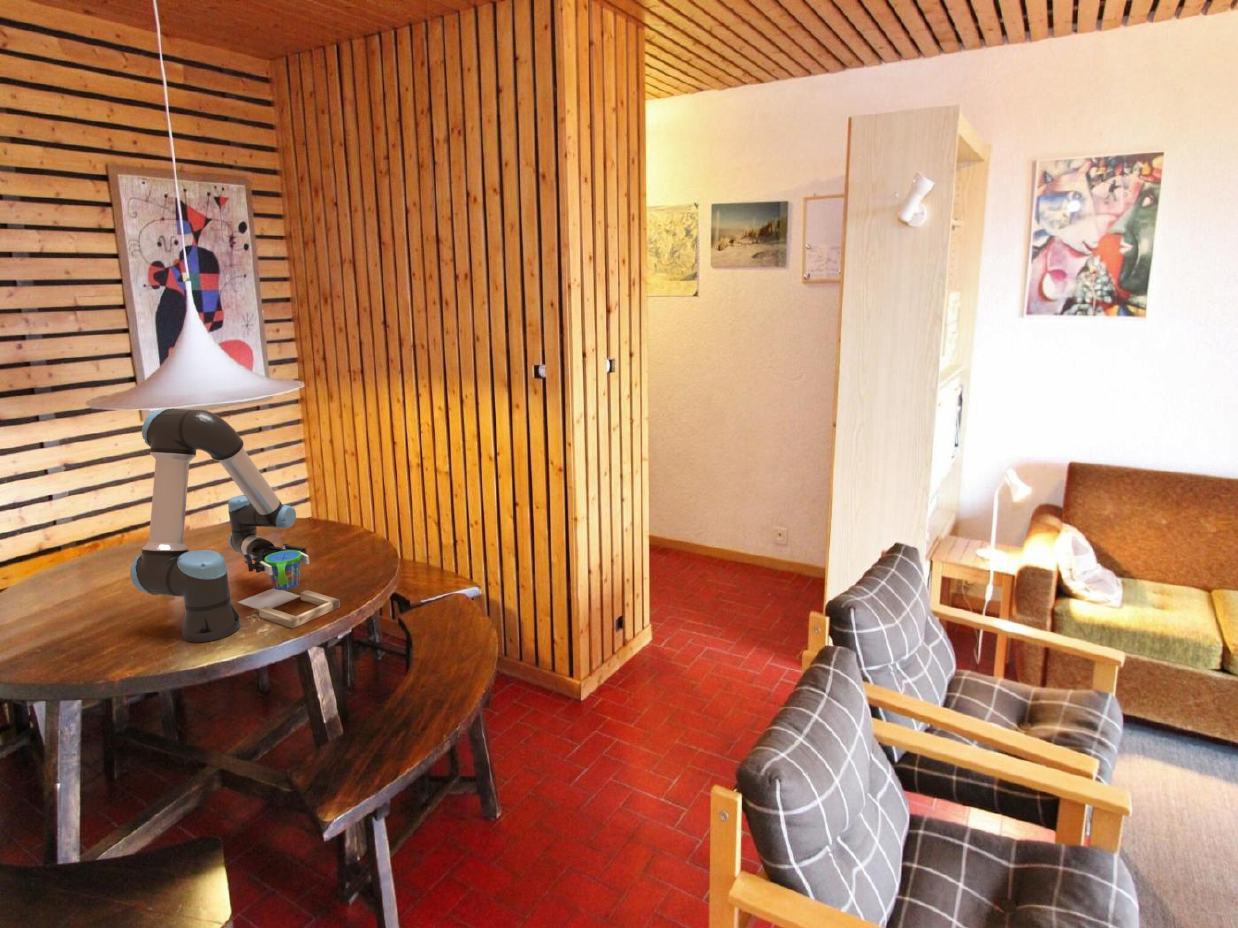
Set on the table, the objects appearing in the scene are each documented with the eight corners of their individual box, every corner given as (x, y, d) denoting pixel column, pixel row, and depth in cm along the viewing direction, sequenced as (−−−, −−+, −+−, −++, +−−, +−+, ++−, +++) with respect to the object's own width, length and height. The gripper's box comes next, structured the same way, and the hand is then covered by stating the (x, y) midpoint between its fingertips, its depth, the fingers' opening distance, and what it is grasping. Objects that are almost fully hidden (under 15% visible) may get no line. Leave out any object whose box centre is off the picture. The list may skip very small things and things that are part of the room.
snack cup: (274, 578, 241) (270, 548, 238) (309, 575, 243) (305, 545, 240) (262, 598, 226) (258, 566, 224) (299, 594, 228) (296, 563, 226)
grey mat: (263, 611, 231) (263, 610, 231) (237, 603, 238) (237, 601, 238) (300, 596, 242) (299, 595, 242) (274, 588, 249) (274, 587, 248)
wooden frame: (292, 628, 220) (291, 620, 219) (259, 617, 227) (258, 609, 227) (340, 607, 234) (339, 599, 233) (307, 597, 242) (306, 589, 241)
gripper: (294, 550, 254) (327, 566, 239) (222, 570, 237) (252, 588, 222) (292, 529, 252) (324, 543, 237) (219, 547, 235) (249, 564, 221)
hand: (289, 565), depth 230 cm, fingers closed on snack cup, 11 cm apart
